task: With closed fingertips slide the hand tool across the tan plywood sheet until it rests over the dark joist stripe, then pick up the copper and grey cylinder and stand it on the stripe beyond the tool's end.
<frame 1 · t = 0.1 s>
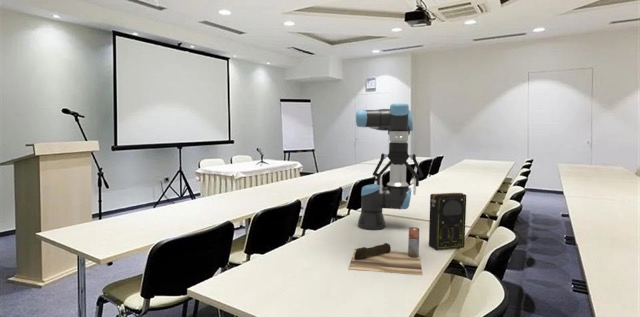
hand: (397, 193, 151), 28 cm above the table, tool pointing down, fingers open, 13 cm apart
plywood sheet: (385, 261, 151), on the table
hand tool: (372, 256, 156), resting on plywood sheet
copper and grey cylinder: (413, 256, 157), resting on plywood sheet
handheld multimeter: (446, 247, 169), on the table
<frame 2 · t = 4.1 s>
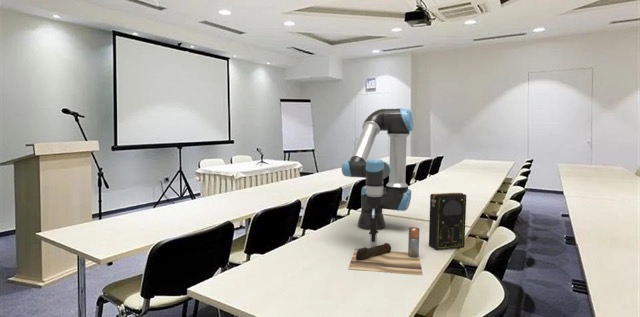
hand: (373, 248, 161), 2 cm above the table, tool pointing down, fingers closed
hand tool: (373, 257, 156), resting on plywood sheet, touching gripper
everything else where it was.
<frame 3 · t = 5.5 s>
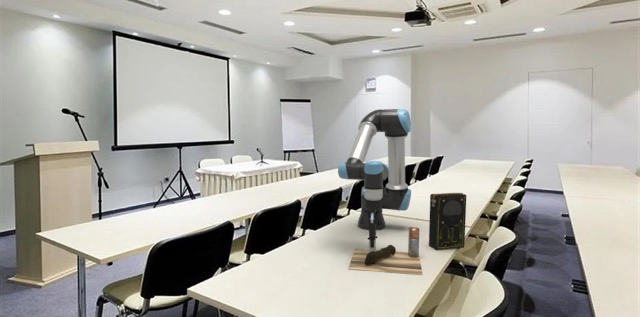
hand: (372, 254, 154), 2 cm above the table, tool pointing down, fingers closed
hand tool: (379, 260, 152), resting on plywood sheet, touching gripper
everything else where it was.
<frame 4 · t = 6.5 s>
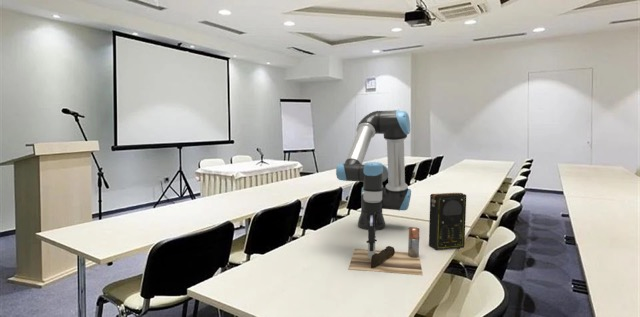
hand: (371, 257, 149), 2 cm above the table, tool pointing down, fingers closed
hand tool: (382, 262, 150), resting on plywood sheet, touching gripper
everything else where it was.
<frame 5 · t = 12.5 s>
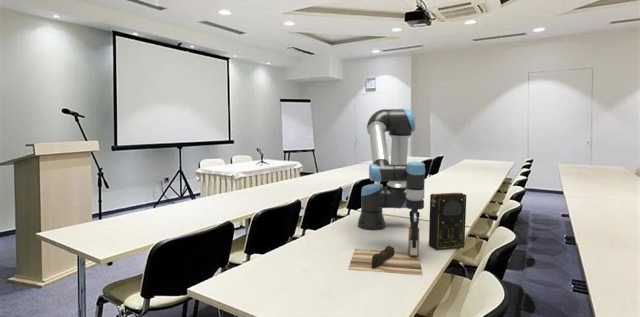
hand: (413, 252, 157), 2 cm above the table, tool pointing down, fingers closed on copper and grey cylinder, 4 cm apart
hand tool: (382, 262, 150), resting on plywood sheet
copper and grey cylinder: (413, 256, 157), resting on plywood sheet, touching gripper
everything else where it was.
when the fingers open (3 cm above the table, at t = 17.2 s): copper and grey cylinder drops 1 cm, resting on plywood sheet.
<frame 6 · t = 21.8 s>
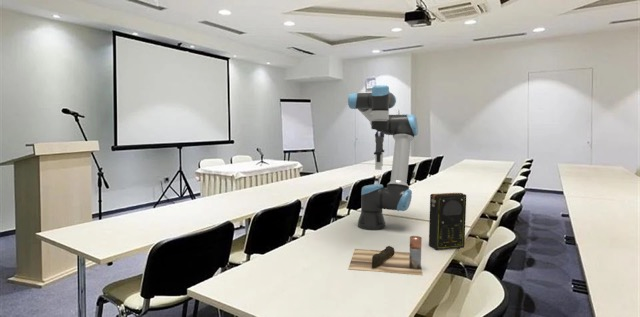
hand: (379, 167, 166), 37 cm above the table, tool pointing down, fingers open, 13 cm apart
copper and grey cylinder: (414, 267, 144), resting on plywood sheet
everything else where it was.
at the end: hand tool inside the target area (5.1 cm from its centre), resting on plywood sheet; copper and grey cylinder inside the target area (0.0 cm from its centre), resting on plywood sheet; copper and grey cylinder tilted 0° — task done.
